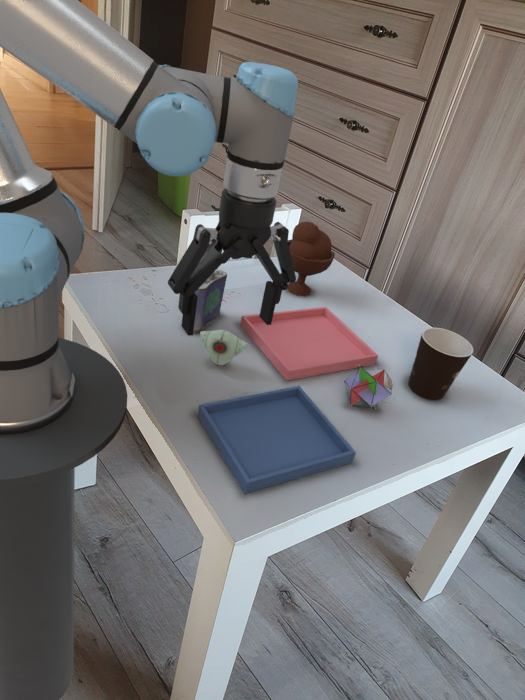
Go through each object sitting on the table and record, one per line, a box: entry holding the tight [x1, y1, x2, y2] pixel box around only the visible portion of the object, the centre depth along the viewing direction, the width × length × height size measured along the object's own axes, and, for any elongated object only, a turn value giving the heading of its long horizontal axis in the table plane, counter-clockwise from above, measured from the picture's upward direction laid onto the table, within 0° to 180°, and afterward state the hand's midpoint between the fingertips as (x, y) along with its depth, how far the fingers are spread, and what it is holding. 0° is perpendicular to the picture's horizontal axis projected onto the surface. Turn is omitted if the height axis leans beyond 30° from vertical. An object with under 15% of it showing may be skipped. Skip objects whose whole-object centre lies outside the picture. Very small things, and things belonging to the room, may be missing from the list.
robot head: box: [199, 329, 249, 366], centre depth 88 cm, size 8×4×7 cm, turn 80°
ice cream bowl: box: [286, 221, 336, 297], centre depth 114 cm, size 11×11×15 cm
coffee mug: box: [407, 327, 474, 401], centre depth 94 cm, size 12×9×10 cm
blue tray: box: [197, 385, 357, 494], centre depth 77 cm, size 17×15×2 cm
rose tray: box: [240, 306, 379, 381], centre depth 100 cm, size 19×17×2 cm
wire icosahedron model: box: [343, 365, 394, 410], centre depth 87 cm, size 7×7×8 cm
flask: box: [193, 269, 228, 334], centre depth 97 cm, size 9×3×11 cm, turn 153°
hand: (227, 325), depth 85 cm, fingers open, 13 cm apart
